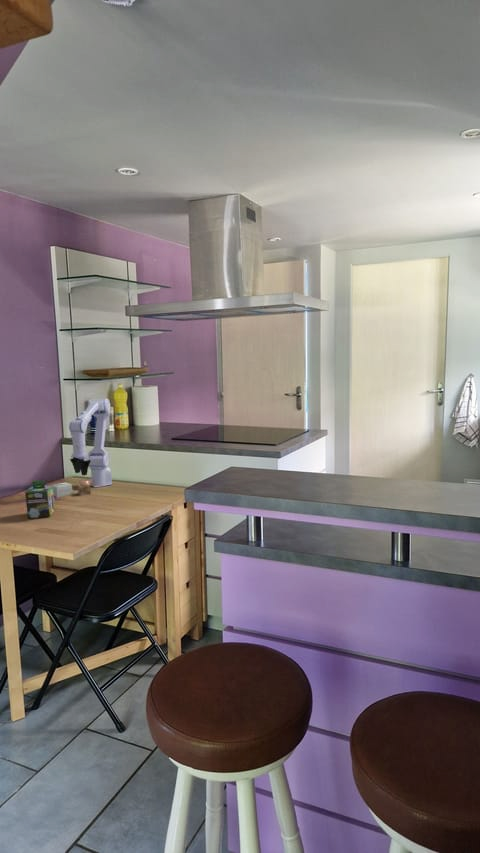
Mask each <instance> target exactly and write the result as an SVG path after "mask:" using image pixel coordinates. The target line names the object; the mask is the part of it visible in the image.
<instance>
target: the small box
mask: <svg viewBox="0 0 480 853" xmlns="http://www.w3.org/2000/svg"><path fill="white" fill-rule="evenodd" d="M52 485H53V494H54V498H63V497H68V496H72V495H74V494H73V485H72V483H68V482H66V481H65V482H61V483H55V484H52Z"/></svg>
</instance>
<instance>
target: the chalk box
mask: <svg viewBox="0 0 480 853" xmlns="http://www.w3.org/2000/svg"><path fill="white" fill-rule="evenodd" d="M31 484H32V486H30V487H29V488H28V489H26V491H25V492H24V494H25V495H24V496H25V503H26V511H27V519H38V518H39V519H41V518H51V516H52V515H53V514H54V513H55V511H56V506H55V505H56V504H55V496H54V494H53V485H54V484H50V485H49V484H47V485H45V481H44V480H32V481H31ZM37 484H40V485H37Z"/></svg>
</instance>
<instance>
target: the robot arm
mask: <svg viewBox="0 0 480 853" xmlns="http://www.w3.org/2000/svg"><path fill="white" fill-rule="evenodd" d="M110 402H111V401H110V400H109V398H90V399H89V400H88V401H87V408H86V409H85V410H84V411H83V410H82V411H80V413H79V415H78V416H77V417H76V418H75V419H74V420H71V421H70V422H69V425H68V429H69V432H70V436H71V439H72V452H71V455H70V457H71V458H69V461H70V462H71V464H72V466H73V470H74V473H75V474H81V475H82V476H87V475H88V470H89V469H90V476H91V483H90V487H92V488H101V487H106V486H112V485H113V480H112V471H111V468H110V467H109V466H108V465H109V464H110V458H109V455H110V454H109V453H108V451H106V449H105V439H106V428H107V419H108V417H109V416H110V412H111V403H110ZM92 416H93V417H95V418H96V424H95V432H94V441H93V442H94V443H93V448H92V449H91V450H89V451H88V453H87V449H86V448H87V447H86V434H85V432H87V427H88V424H89V423H90V422H91V421H92ZM87 454H88V455H87Z"/></svg>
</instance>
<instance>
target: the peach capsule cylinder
mask: <svg viewBox="0 0 480 853" xmlns="http://www.w3.org/2000/svg"><path fill="white" fill-rule="evenodd" d="M90 482H91V481H90V479H86V478H85V479H79V480H78V486H80V485H86V484H87V485H89V486H90V487H91V485H90V484H91V483H90Z"/></svg>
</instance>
